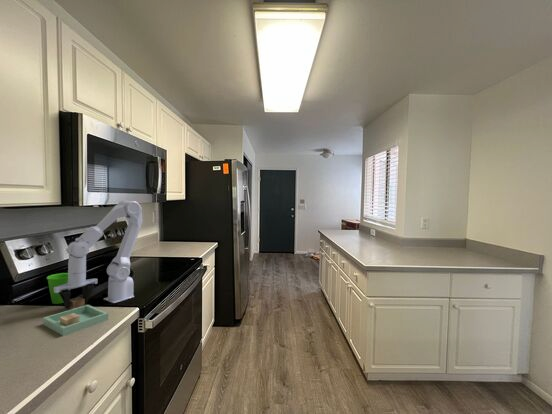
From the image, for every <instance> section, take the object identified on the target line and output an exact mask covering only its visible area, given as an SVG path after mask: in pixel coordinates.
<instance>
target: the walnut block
mask: <svg viewBox="0 0 552 414" xmlns="http://www.w3.org/2000/svg"><path fill="white" fill-rule="evenodd" d="M85 305H86V304H85V299H83V297H80V296H77V297H74V298H70V308H69V309H68V310H71V309H74V308H78V307H81V306H85Z"/></svg>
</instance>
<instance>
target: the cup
mask: <svg viewBox="0 0 552 414" xmlns="http://www.w3.org/2000/svg"><path fill="white" fill-rule="evenodd" d="M46 280H47V283H48V288H49V293H50V299H51V303H52V304H54V305H58V304H64V302H63V300H62V298H61V296H60V294H59V293H55V292H54V287H57V286H60V285H63V284H66V283H68V272H61V273H55V274H50V275H48V276H47V277H46ZM69 292H71V289H69Z"/></svg>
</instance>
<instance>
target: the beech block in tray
mask: <svg viewBox="0 0 552 414" xmlns="http://www.w3.org/2000/svg"><path fill="white" fill-rule="evenodd" d="M77 322H79V315H77V314H74V313H72V314H69V315H65V316H62V317H60V324H62V325H64V326H68V325H71V324H74V323H77Z"/></svg>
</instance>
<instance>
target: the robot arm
mask: <svg viewBox="0 0 552 414" xmlns="http://www.w3.org/2000/svg"><path fill="white" fill-rule="evenodd" d="M142 211H143V207H142V206H141V205H140V203H139V202H138V201H135V200H125V199H124V200H121V201H119V202H118V204H115V205H114V206H113V208H111V210H110V211H109V212H108V213H107V214H106V215H105V216H104V217H103V218H102V219H101V220H100V221H99V222H98V223H97V224H96V225H95V226H89V227H86V228H85V229H84V232H83V233H82V234H81V235H80V236H79V237H76V238H75V239H74V240H75V241H71V242H70V243H69V244H68V246H67V248H65V249H66V253H67V254H68V260H67V261H68V263H67V267H68V268H67V269H68V270H67V273H68V283H66V284H63V285H60V286H57V287H54V292H55V293H59V294H60V296H61V298H62V300H63V302H64V303H63V305H64V308H65V309H66V310H70V309H69V308H70V299H71V296H72V292H71V291H69V289H70V290H73V289H77V288H82V290H81V291H82V298H83V299H85V305H88V301H89V299H90V295H91V294H92V291H94V289H95V285H97V284H98V282H99V281H98V278H93V277H92V278H89V279H86V278H87V255H88V254H89V252H90V249H91V248H92V247H93V246H95V244H96V243H97V242H98V241H99V240H100V239H101V238H102V237H103V236H104V231H105V230H106V229H107V228H108V227H110V226H111V225H112V224H113V223H114V222H115V221H116V220H118V219H120V218H125V219H126V221H128V224H127V227H126V229H125V231H124V232H125V233H124V235H123V237H122V239H121V243H120V245H119V248H118V251H117V254H116V256H115V257H114V258H113V259H112V260H111V262H110V264H109V265H108V266H107V268H106V273H107V275H108V280H107V281H108V286H107V290H108V291H107V297H104V298H103V300H104V301H107V302H109V303H112V304H116V303H119V302H123V301H126V300H128V299H132V298H135V295H134V280H133V277H131V276H130V273H131V269H130V268H131V261H130V258H131V256H132V252H133V250H134V247H135V245H136V242H137V238H138V237H139V234H140V231H141V227H142V225H143V222H144V221H143V219H144V218H143V213H142ZM94 284H95V285H94Z"/></svg>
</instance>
